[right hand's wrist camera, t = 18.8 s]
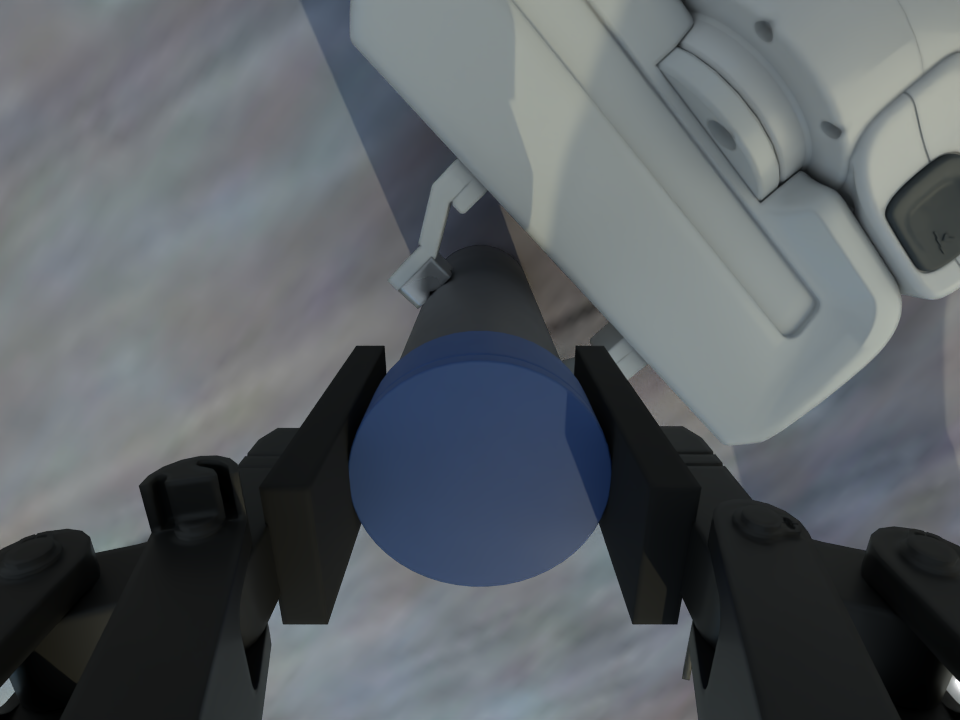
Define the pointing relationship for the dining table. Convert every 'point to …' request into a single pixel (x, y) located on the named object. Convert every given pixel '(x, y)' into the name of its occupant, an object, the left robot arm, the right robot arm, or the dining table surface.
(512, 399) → the lid
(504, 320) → the dark grey cylinder
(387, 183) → the dining table surface
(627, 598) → the right robot arm
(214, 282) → the dining table surface
